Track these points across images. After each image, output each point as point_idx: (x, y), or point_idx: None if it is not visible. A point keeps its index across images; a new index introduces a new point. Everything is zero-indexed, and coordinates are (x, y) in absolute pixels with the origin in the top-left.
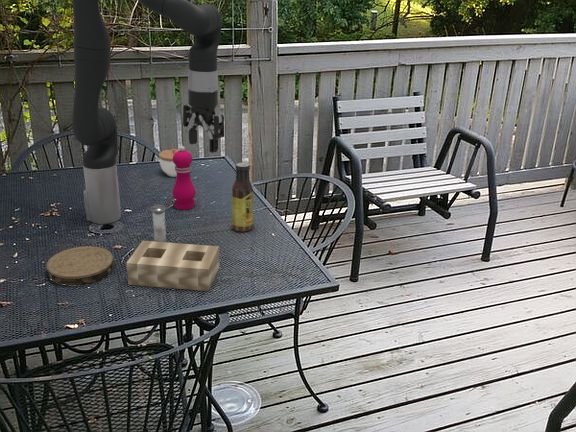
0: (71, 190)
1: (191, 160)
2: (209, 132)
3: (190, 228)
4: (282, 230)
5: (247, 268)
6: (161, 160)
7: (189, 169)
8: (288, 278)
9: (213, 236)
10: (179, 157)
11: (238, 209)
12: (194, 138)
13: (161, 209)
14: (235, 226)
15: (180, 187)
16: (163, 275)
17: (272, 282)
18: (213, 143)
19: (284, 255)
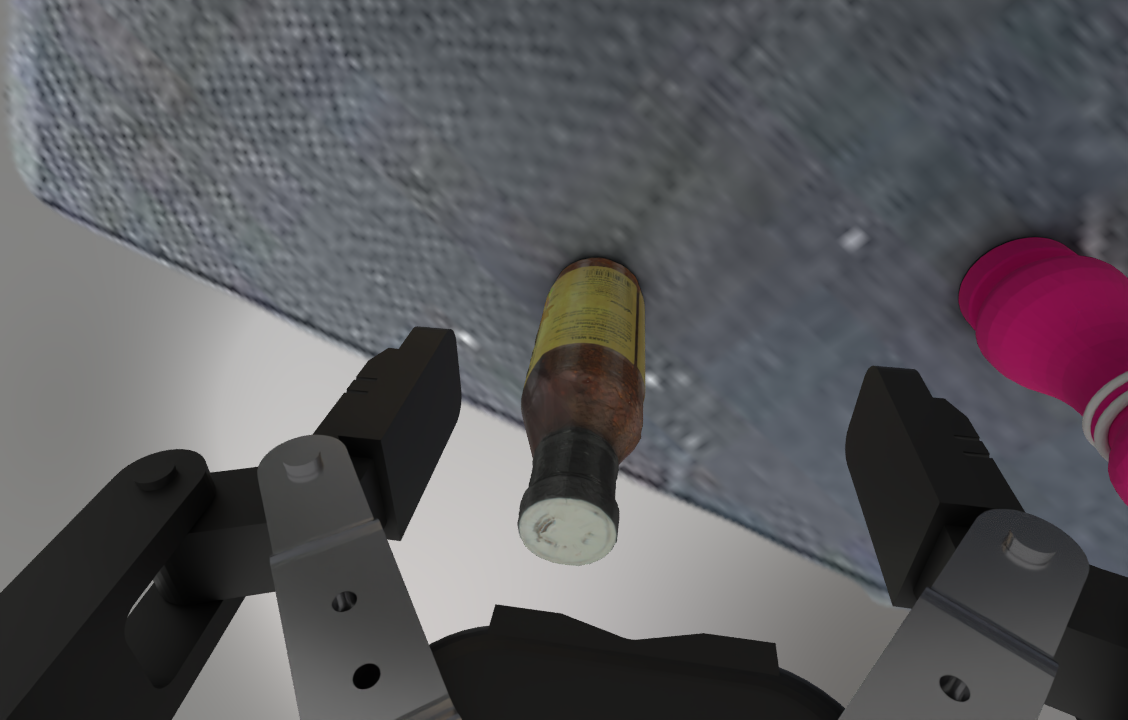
0: None
1: (1115, 483)
2: (314, 524)
3: (794, 121)
4: (469, 384)
5: (272, 28)
6: None
7: (1091, 428)
8: (119, 100)
9: (632, 144)
10: None
11: (565, 312)
12: (873, 463)
13: None
14: (594, 265)
15: (1075, 307)
16: None
17: (114, 20)
18: (342, 413)
19: (291, 235)
